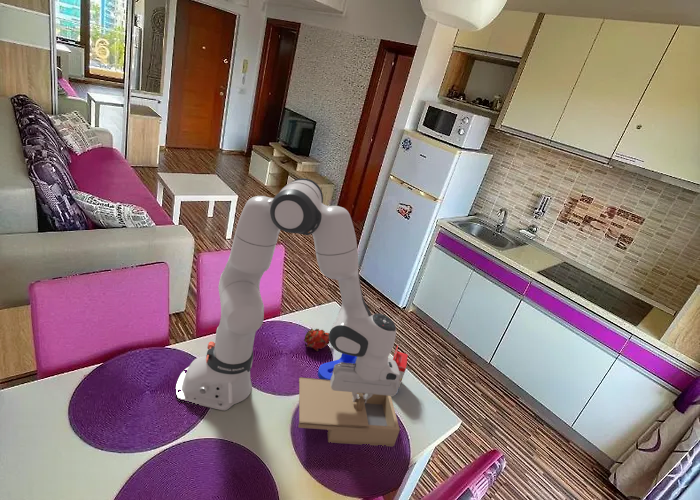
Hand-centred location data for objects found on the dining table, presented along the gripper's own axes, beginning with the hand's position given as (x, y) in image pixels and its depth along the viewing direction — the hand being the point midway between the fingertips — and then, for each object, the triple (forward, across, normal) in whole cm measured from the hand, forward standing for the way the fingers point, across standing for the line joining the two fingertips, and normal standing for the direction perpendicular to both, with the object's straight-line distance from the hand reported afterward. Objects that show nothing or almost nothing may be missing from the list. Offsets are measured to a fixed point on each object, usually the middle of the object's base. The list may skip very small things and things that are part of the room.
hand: (359, 401), depth 122 cm
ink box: (+9, +17, +18) cm, 26 cm away
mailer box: (+9, +2, 0) cm, 9 cm away
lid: (+3, -8, 0) cm, 8 cm away
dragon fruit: (+9, -10, +35) cm, 38 cm away
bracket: (+9, -2, +22) cm, 24 cm away
